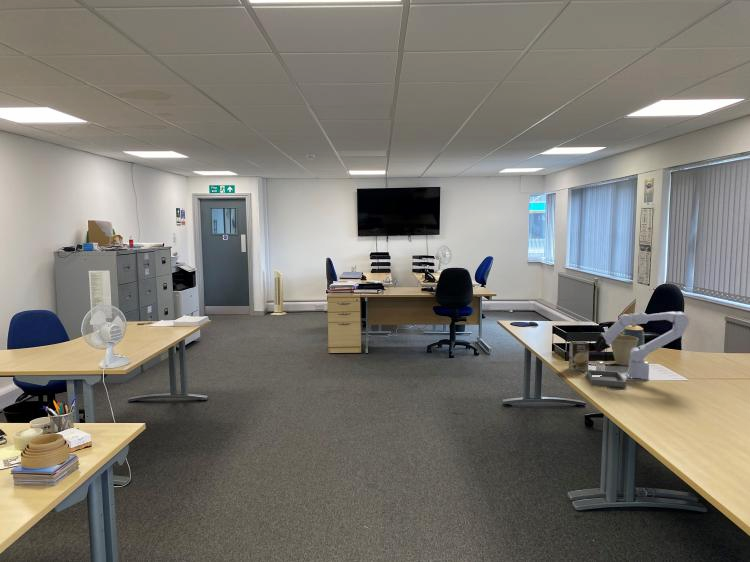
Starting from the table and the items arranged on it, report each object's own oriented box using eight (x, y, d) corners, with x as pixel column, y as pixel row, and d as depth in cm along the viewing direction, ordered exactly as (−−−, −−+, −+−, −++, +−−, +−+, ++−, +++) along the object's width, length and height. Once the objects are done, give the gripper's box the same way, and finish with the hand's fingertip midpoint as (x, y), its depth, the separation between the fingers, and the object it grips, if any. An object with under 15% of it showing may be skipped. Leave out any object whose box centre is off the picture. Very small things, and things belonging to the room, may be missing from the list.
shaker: (603, 371, 270) (604, 361, 269) (605, 373, 265) (605, 363, 265) (595, 370, 271) (595, 360, 270) (596, 373, 266) (596, 362, 266)
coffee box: (571, 371, 271) (572, 343, 270) (568, 367, 278) (569, 341, 276) (588, 371, 270) (589, 343, 269) (584, 368, 277) (585, 341, 275)
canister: (626, 345, 327) (627, 320, 325) (647, 348, 317) (648, 322, 315) (618, 348, 319) (619, 323, 317) (639, 352, 309) (640, 325, 307)
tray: (618, 376, 259) (618, 371, 259) (625, 387, 242) (626, 381, 242) (586, 375, 264) (586, 369, 263) (591, 385, 246) (592, 379, 246)
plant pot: (604, 360, 291) (605, 335, 290) (629, 360, 291) (630, 334, 289) (616, 367, 276) (617, 340, 275) (642, 367, 276) (643, 340, 274)
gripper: (605, 323, 268) (588, 340, 273) (609, 331, 255) (591, 349, 259) (616, 331, 267) (598, 348, 272) (620, 339, 254) (602, 357, 259)
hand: (595, 349), depth 266 cm, fingers open, 7 cm apart
